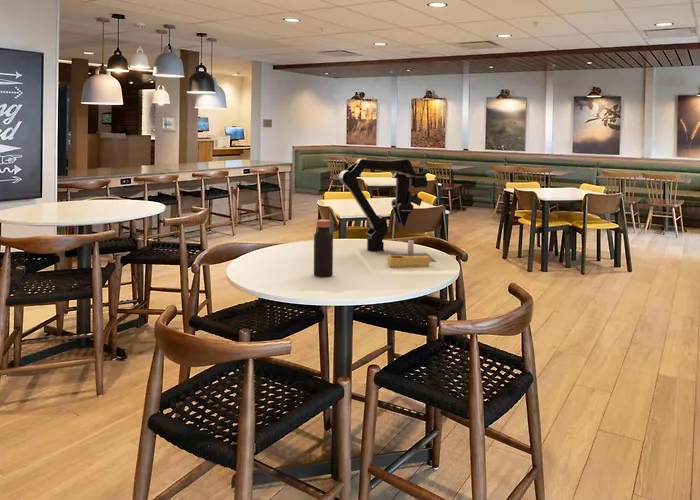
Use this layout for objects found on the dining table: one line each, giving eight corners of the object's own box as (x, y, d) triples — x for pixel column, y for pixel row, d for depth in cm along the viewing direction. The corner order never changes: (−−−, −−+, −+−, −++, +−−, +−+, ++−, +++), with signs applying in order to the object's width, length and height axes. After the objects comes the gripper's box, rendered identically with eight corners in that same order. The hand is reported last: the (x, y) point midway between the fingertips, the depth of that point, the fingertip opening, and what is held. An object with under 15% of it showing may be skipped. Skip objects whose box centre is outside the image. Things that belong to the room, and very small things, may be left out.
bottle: (325, 278, 217) (326, 222, 213) (310, 275, 221) (310, 220, 217) (336, 274, 223) (336, 220, 219) (320, 272, 226) (321, 218, 223)
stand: (396, 265, 241) (397, 246, 239) (389, 256, 258) (389, 238, 257) (436, 264, 242) (437, 246, 241) (426, 255, 260) (426, 238, 259)
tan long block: (426, 266, 239) (426, 255, 238) (430, 269, 233) (430, 258, 232) (387, 266, 237) (387, 255, 237) (390, 270, 231) (390, 258, 230)
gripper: (426, 190, 255) (424, 227, 258) (416, 186, 274) (415, 221, 276) (399, 190, 254) (398, 227, 257) (391, 186, 272) (390, 221, 275)
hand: (401, 224), depth 266 cm, fingers open, 9 cm apart
